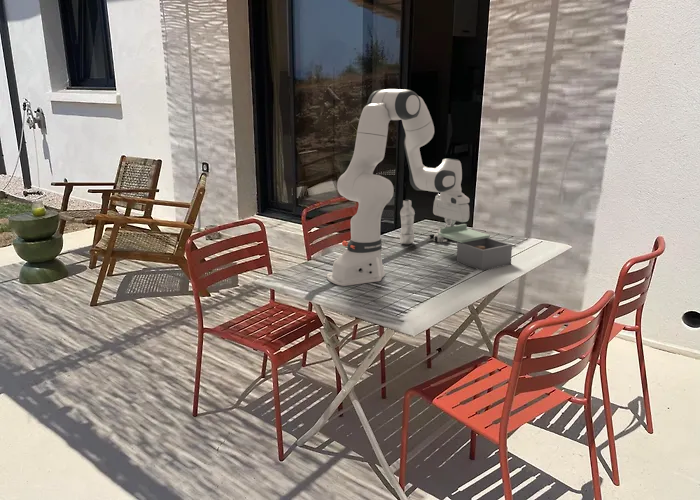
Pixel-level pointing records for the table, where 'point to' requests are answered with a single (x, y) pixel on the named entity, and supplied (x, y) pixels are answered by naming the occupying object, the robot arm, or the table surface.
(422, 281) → the table surface
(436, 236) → the robot toy
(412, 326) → the table surface
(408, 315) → the table surface
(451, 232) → the lid
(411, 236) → the plastic bottle
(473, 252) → the housing
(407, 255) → the table surface
